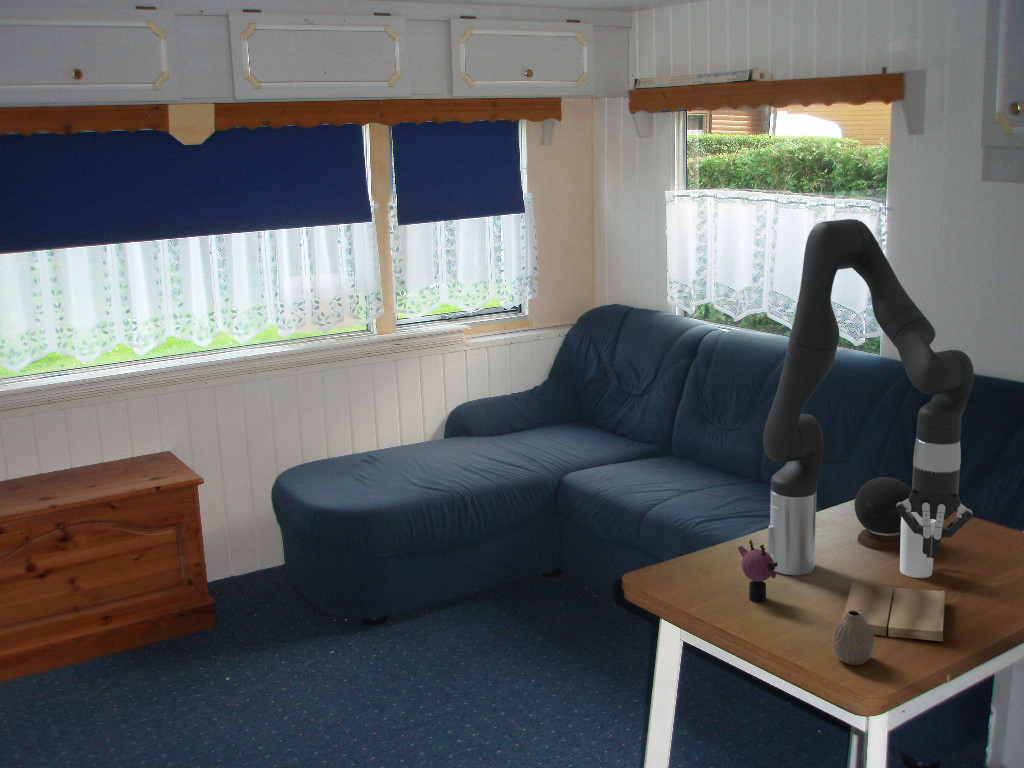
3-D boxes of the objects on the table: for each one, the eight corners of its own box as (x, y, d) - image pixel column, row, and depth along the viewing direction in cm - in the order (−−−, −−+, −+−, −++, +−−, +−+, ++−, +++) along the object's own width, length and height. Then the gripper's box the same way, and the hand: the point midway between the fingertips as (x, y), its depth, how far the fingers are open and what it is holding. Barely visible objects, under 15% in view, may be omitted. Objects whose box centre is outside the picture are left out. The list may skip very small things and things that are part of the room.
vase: (880, 668, 169) (882, 620, 167) (841, 671, 169) (842, 623, 167) (863, 648, 176) (865, 602, 174) (825, 651, 175) (826, 605, 173)
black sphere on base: (846, 547, 221) (849, 482, 218) (860, 527, 232) (862, 466, 229) (909, 557, 214) (912, 491, 211) (920, 536, 225) (923, 473, 222)
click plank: (888, 636, 180) (888, 625, 179) (895, 596, 196) (894, 586, 195) (942, 641, 176) (942, 630, 176) (944, 600, 192) (944, 590, 192)
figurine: (776, 609, 192) (777, 551, 190) (734, 605, 195) (735, 548, 192) (778, 592, 200) (779, 536, 197) (737, 588, 202) (738, 533, 200)
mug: (923, 581, 202) (926, 526, 199) (892, 572, 207) (895, 518, 204) (946, 567, 208) (949, 513, 206) (915, 558, 213) (918, 505, 211)
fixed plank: (841, 629, 183) (842, 620, 183) (851, 590, 199) (852, 582, 199) (886, 635, 180) (886, 626, 180) (892, 595, 196) (893, 587, 196)
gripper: (894, 466, 173) (889, 559, 177) (978, 473, 168) (971, 569, 171) (897, 454, 180) (892, 544, 183) (978, 461, 174) (971, 553, 178)
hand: (930, 556), depth 177 cm, fingers closed
